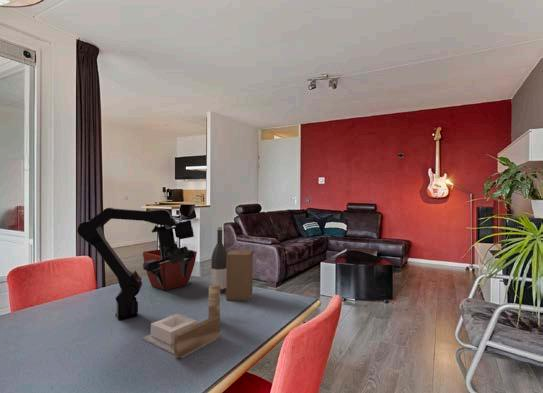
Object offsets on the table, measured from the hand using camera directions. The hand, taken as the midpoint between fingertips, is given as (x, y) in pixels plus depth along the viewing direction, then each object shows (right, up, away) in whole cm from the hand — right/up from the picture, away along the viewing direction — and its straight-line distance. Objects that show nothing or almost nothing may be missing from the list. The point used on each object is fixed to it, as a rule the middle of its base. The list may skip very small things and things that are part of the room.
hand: (173, 281), depth 117 cm
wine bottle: (+13, -12, +27) cm, 32 cm away
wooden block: (+24, -12, +17) cm, 32 cm away
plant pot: (-12, -11, +33) cm, 37 cm away
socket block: (+7, -12, -20) cm, 24 cm away
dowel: (+18, -12, -9) cm, 23 cm away
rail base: (+9, -12, -22) cm, 27 cm away
